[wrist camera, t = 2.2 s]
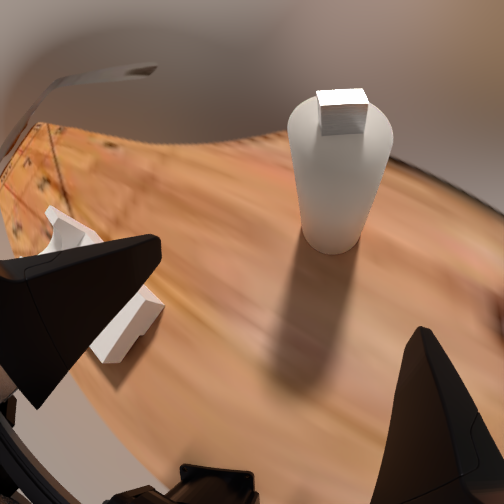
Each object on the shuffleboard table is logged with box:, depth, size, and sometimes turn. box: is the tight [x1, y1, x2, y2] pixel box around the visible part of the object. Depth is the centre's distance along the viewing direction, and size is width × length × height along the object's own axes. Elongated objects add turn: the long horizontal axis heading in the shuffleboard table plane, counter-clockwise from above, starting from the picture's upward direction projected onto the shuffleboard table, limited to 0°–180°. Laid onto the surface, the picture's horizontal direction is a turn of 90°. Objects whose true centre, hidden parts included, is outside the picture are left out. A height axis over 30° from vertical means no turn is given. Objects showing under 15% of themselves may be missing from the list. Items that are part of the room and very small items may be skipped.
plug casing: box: [287, 89, 393, 255], centre depth 16 cm, size 5×5×14 cm
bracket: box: [19, 205, 165, 363], centre depth 22 cm, size 13×7×8 cm, turn 52°
